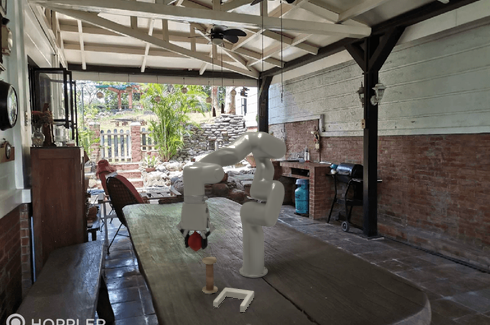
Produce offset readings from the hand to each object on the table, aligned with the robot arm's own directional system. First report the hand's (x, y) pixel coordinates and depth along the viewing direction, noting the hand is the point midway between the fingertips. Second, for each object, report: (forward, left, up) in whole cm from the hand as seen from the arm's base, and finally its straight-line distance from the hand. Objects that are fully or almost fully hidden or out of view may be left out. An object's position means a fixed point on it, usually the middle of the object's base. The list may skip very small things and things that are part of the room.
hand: (196, 247), depth 128 cm
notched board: (-2, +14, -20) cm, 25 cm away
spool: (-8, +2, -20) cm, 21 cm away
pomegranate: (0, 0, -2) cm, 2 cm away
